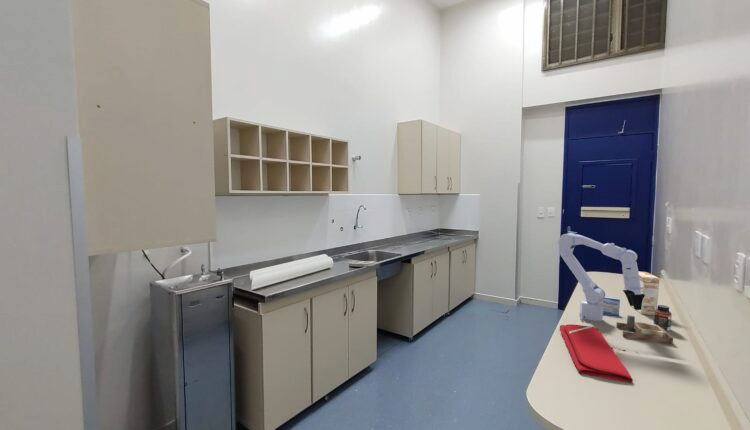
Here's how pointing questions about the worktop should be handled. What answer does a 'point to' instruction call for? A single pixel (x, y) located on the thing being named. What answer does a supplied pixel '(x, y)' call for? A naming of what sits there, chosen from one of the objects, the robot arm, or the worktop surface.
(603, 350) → the dish drying mat
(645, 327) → the drawer
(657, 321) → the supplement bottle
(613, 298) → the medicine box
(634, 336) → the bay
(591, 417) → the worktop surface
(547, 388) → the worktop surface
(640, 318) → the worktop surface
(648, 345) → the worktop surface
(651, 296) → the coffeecake box
